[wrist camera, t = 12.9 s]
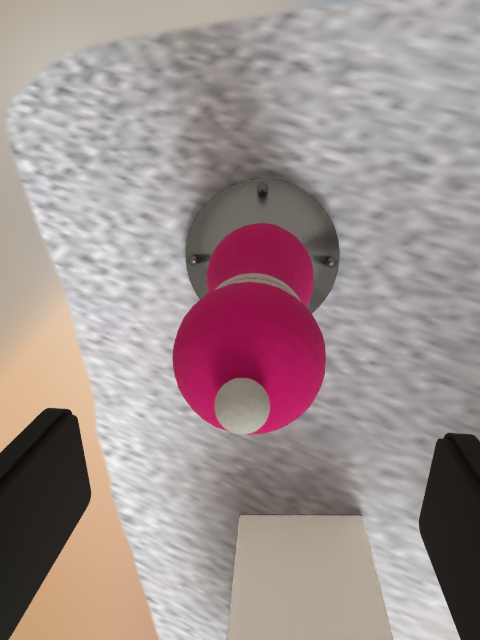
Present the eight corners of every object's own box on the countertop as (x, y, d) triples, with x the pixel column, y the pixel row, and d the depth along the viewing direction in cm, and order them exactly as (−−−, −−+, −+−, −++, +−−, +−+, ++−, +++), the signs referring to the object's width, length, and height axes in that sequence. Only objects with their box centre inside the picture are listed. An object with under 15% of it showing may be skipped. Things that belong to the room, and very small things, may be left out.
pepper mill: (244, 320, 32) (201, 537, 13) (199, 244, 30) (72, 376, 11) (324, 281, 30) (403, 469, 11) (282, 197, 28) (294, 260, 9)
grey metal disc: (330, 327, 32) (332, 334, 31) (192, 323, 33) (189, 330, 32) (344, 178, 28) (347, 179, 27) (184, 178, 29) (180, 179, 28)
